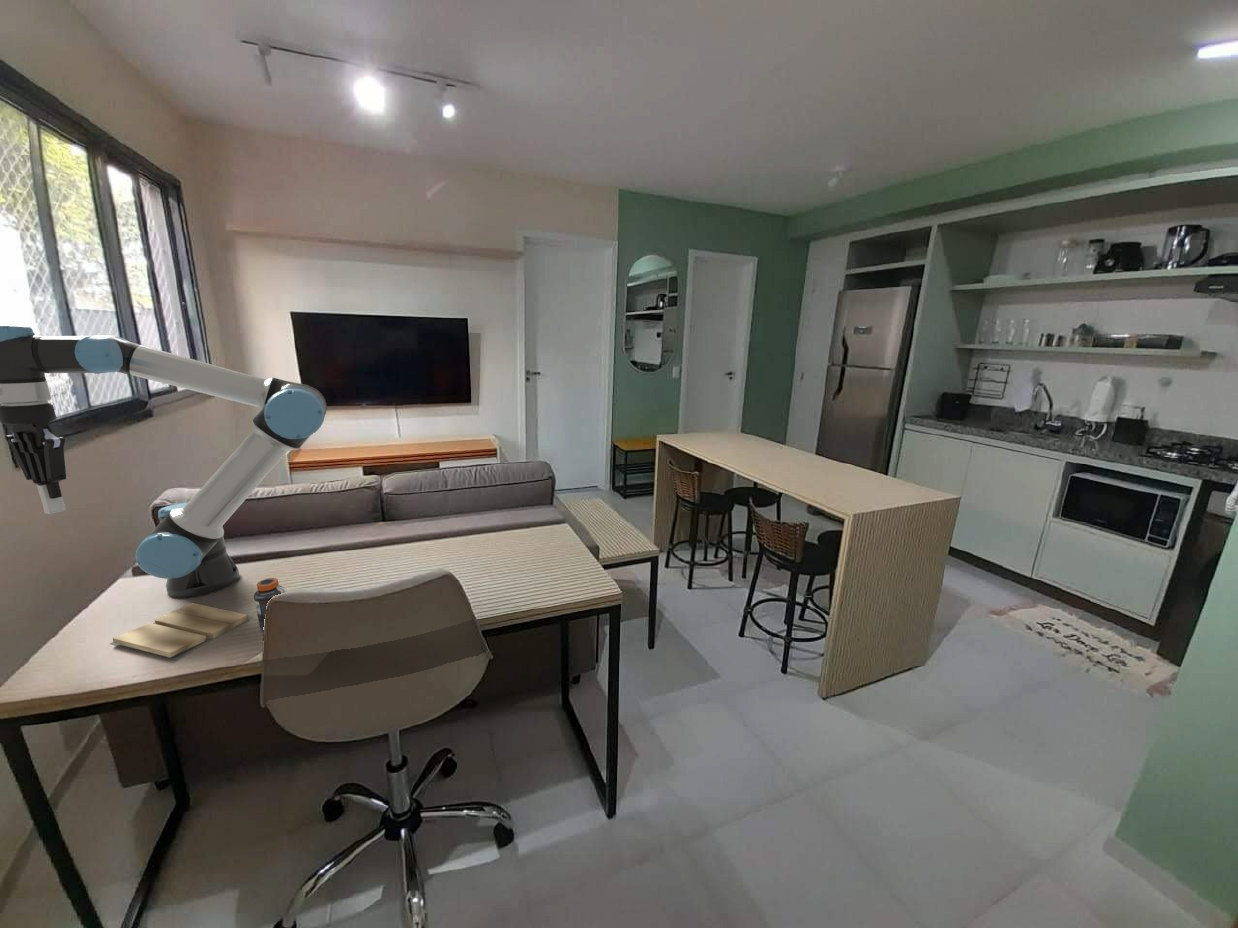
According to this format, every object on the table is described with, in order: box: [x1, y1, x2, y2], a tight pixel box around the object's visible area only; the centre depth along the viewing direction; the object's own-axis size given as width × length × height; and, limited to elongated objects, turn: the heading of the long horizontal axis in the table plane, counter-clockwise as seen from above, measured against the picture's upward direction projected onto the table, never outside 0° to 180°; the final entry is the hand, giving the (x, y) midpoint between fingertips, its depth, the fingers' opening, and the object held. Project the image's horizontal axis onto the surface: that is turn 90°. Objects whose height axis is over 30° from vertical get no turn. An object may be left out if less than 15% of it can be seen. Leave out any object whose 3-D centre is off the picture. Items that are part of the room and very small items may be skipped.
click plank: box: [112, 622, 209, 658], centre depth 108 cm, size 8×17×1 cm, turn 74°
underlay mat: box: [109, 615, 254, 661], centre depth 113 cm, size 17×20×1 cm
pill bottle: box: [253, 577, 286, 631], centre depth 114 cm, size 6×6×11 cm
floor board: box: [154, 602, 249, 639], centre depth 115 cm, size 8×18×1 cm, turn 74°
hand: (55, 511), depth 106 cm, fingers closed
